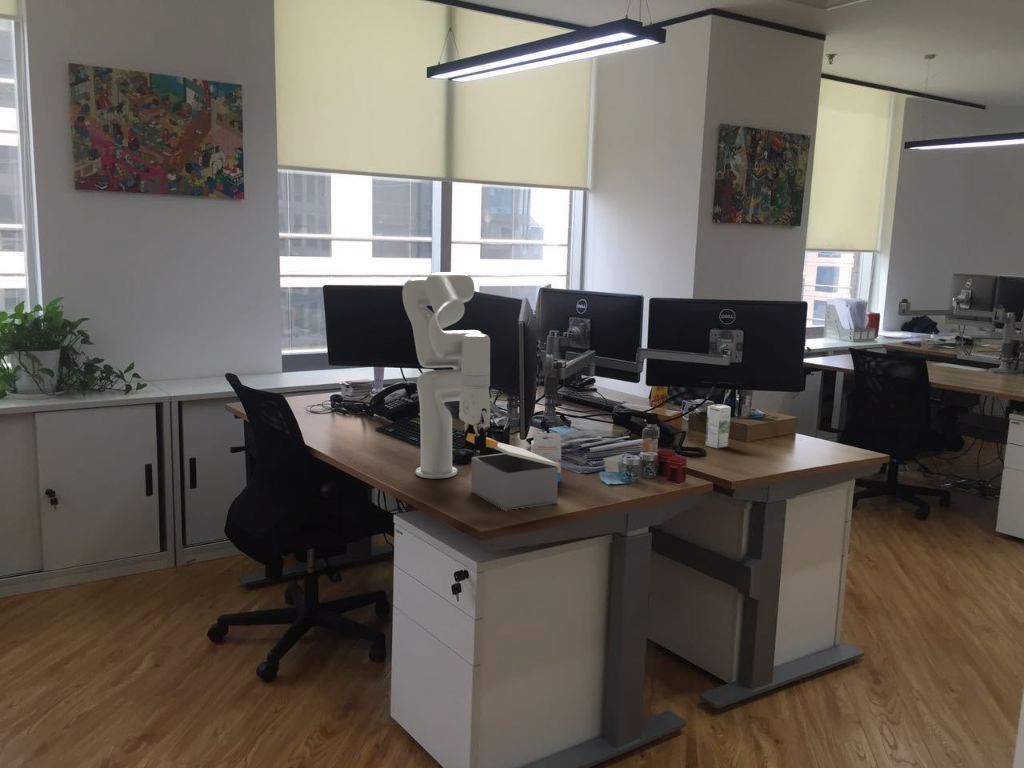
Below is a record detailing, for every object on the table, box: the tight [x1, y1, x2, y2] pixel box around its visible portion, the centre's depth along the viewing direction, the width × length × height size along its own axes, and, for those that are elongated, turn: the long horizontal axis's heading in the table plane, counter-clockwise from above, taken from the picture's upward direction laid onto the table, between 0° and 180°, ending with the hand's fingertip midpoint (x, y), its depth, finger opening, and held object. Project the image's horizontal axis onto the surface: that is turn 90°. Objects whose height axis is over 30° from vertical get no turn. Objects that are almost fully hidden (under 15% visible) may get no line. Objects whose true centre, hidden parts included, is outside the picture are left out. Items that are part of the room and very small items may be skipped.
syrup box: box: [704, 403, 732, 449], centre depth 297 cm, size 6×6×14 cm
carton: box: [470, 452, 559, 512], centre depth 235 cm, size 20×16×10 cm
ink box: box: [530, 432, 562, 483], centre depth 252 cm, size 8×5×15 cm, turn 96°
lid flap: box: [466, 433, 558, 467], centre depth 232 cm, size 20×22×2 cm
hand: (475, 447), depth 228 cm, fingers closed on lid flap, 5 cm apart
